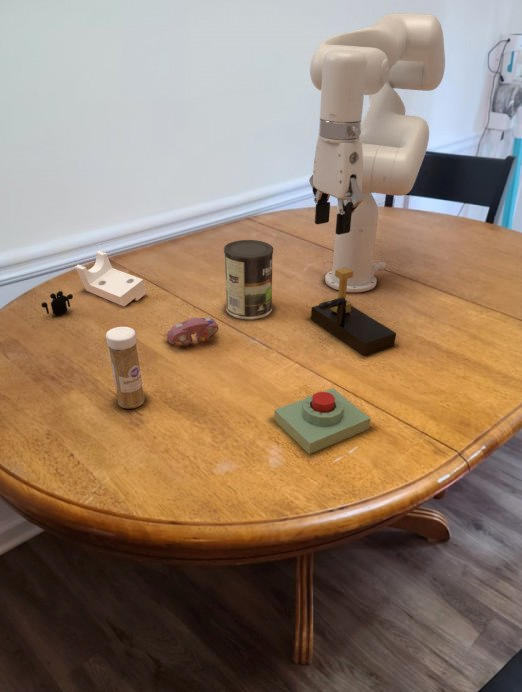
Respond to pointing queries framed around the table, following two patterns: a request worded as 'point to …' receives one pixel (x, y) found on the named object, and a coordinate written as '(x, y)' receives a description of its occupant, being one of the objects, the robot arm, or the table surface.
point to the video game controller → (192, 330)
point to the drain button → (323, 402)
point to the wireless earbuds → (58, 303)
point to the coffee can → (248, 279)
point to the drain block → (321, 422)
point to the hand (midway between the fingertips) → (332, 227)
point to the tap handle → (343, 285)
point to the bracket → (111, 281)
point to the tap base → (353, 327)
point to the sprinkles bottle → (125, 366)
